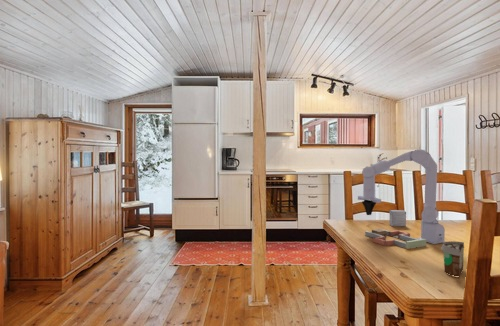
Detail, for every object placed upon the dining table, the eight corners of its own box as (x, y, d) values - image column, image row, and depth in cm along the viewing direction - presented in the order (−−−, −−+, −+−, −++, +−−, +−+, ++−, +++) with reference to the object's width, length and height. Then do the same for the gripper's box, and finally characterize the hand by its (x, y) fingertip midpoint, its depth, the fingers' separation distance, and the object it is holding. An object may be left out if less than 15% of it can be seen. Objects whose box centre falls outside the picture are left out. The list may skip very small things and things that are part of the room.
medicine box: (403, 225, 190) (403, 210, 190) (406, 226, 186) (406, 211, 185) (389, 224, 191) (389, 210, 190) (391, 226, 186) (391, 211, 186)
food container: (444, 265, 121) (444, 239, 121) (463, 269, 118) (464, 241, 117) (437, 275, 112) (438, 246, 112) (458, 279, 108) (459, 249, 108)
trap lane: (434, 244, 149) (434, 238, 149) (398, 250, 140) (398, 243, 140) (389, 231, 173) (389, 226, 173) (356, 236, 164) (356, 230, 164)
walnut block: (385, 236, 165) (385, 230, 165) (378, 237, 163) (378, 231, 162) (379, 234, 169) (379, 228, 169) (371, 235, 167) (371, 229, 167)
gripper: (385, 190, 167) (385, 216, 167) (364, 187, 180) (364, 212, 180) (375, 190, 164) (375, 217, 164) (354, 188, 177) (354, 213, 177)
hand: (368, 214), depth 172 cm, fingers closed
